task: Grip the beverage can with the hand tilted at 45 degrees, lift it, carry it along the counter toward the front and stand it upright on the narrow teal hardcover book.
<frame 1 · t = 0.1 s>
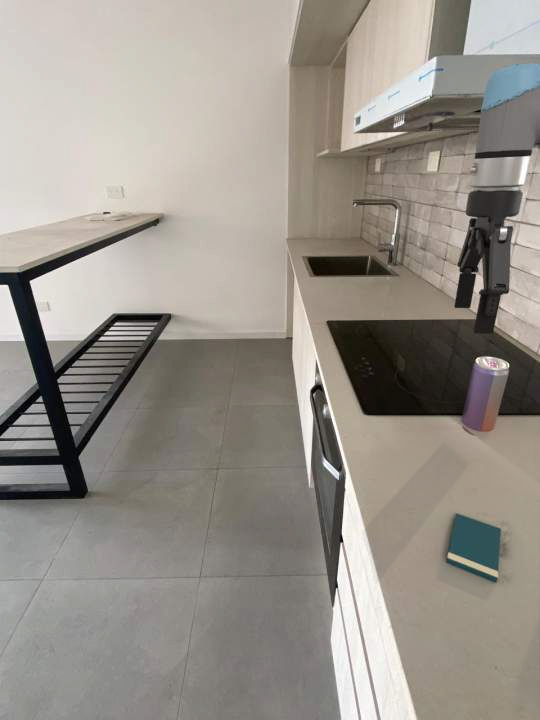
hand: (471, 319, 70), 24 cm above the worktop, tool pointing down, fingers open, 13 cm apart
beverage can: (476, 429, 80), on the worktop
teal hardcover book: (474, 547, 55), on the worktop
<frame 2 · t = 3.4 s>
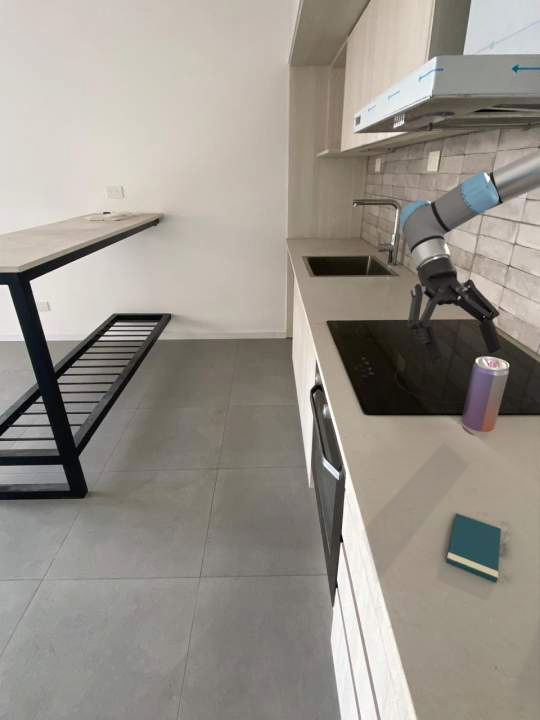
hand: (466, 354, 80), 14 cm above the worktop, tool tilted 45°, fingers open, 13 cm apart
nothing on the worktop moved.
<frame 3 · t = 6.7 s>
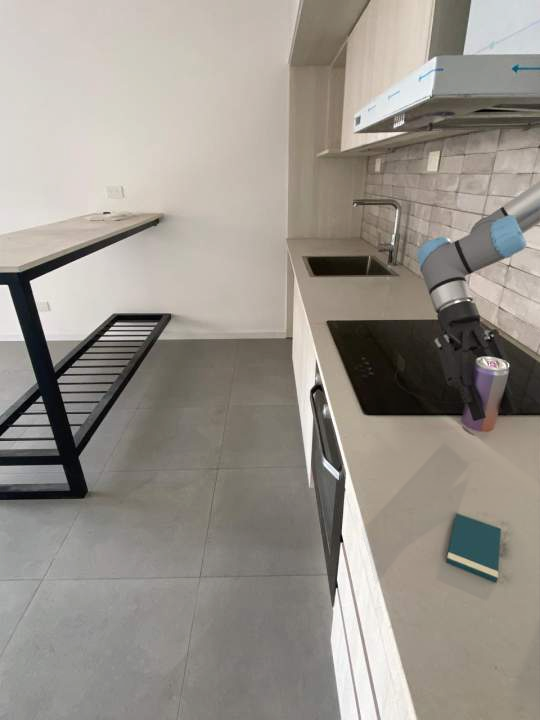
hand: (495, 416, 74), 5 cm above the worktop, tool tilted 45°, fingers closed on beverage can, 6 cm apart
beverage can: (476, 429, 80), on the worktop, touching gripper
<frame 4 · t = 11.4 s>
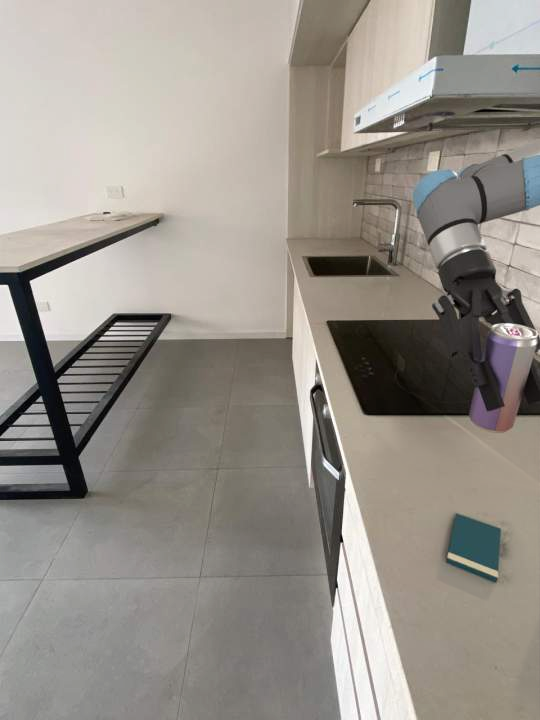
hand: (517, 405, 54), 19 cm above the worktop, tool tilted 45°, fingers closed on beverage can, 6 cm apart
beverage can: (489, 424, 60), point 13 cm above the worktop, touching gripper
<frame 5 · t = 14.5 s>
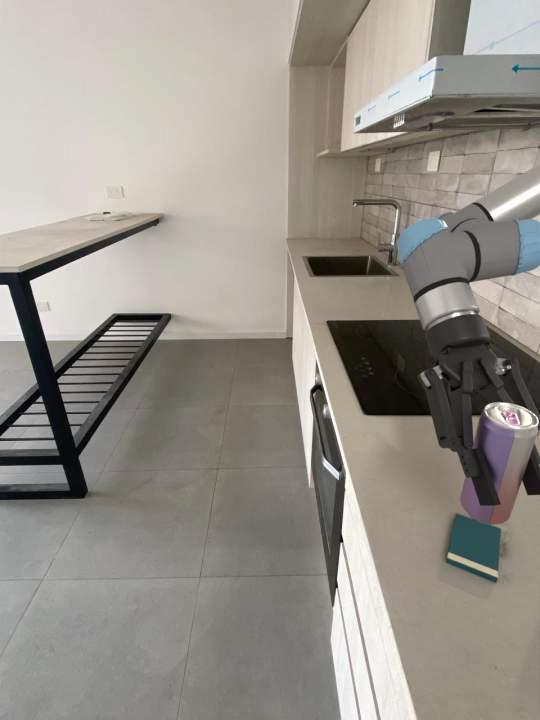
hand: (514, 499, 47), 12 cm above the worktop, tool tilted 45°, fingers closed on beverage can, 6 cm apart
beverage can: (483, 510, 52), point 7 cm above the worktop, touching gripper
when the fingers open (6 cm above the worktop, at t = 16.6 s): beverage can stays where it is, resting on teal hardcover book.
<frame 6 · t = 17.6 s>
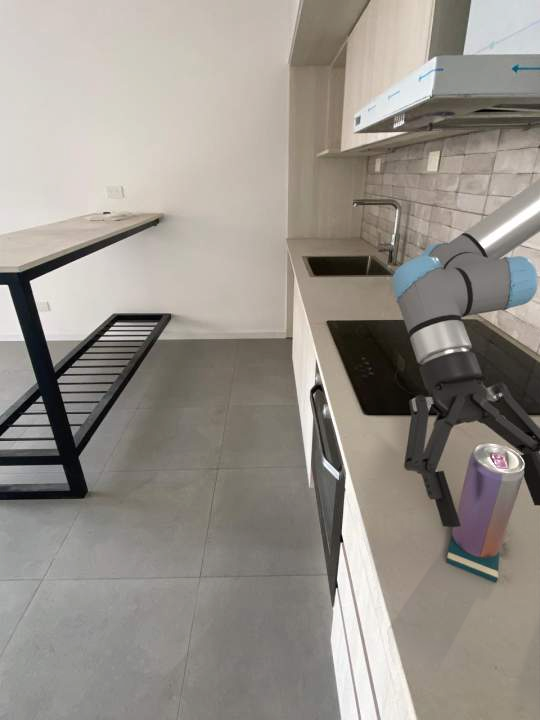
hand: (499, 515, 50), 8 cm above the worktop, tool tilted 45°, fingers open, 13 cm apart
beverage can: (474, 543, 55), point 1 cm above the worktop, touching teal hardcover book
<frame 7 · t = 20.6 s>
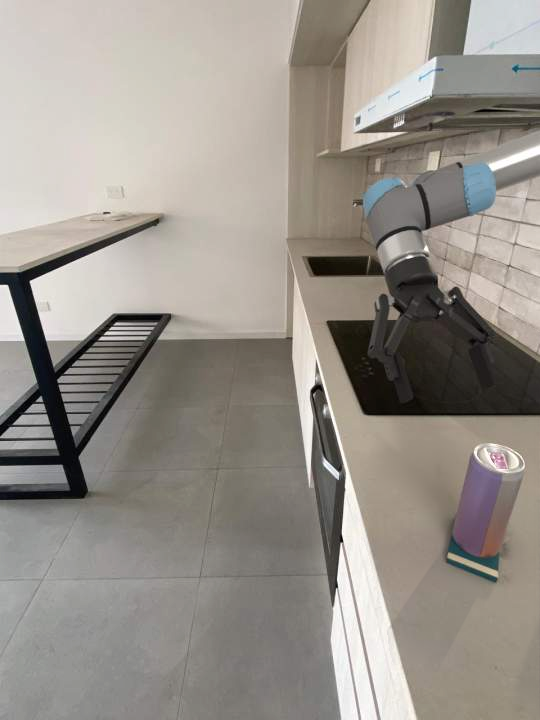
hand: (449, 394, 57), 19 cm above the worktop, tool tilted 45°, fingers open, 13 cm apart
nothing on the worktop moved.
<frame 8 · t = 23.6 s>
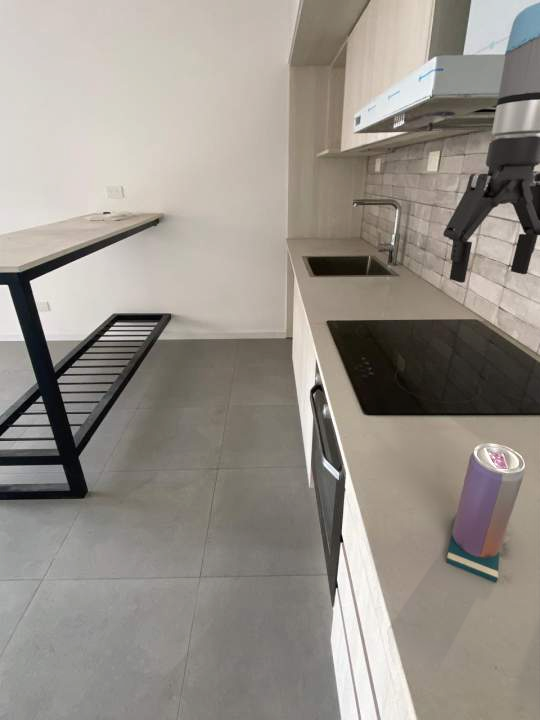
hand: (488, 276, 69), 31 cm above the worktop, tool pointing down, fingers open, 13 cm apart
nothing on the worktop moved.
at the end: beverage can 0.1 cm off-centre on the teal hardcover book, point 0.6 cm above the teal hardcover book's base; beverage can tilted 0°; the gripper is holding nothing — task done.
